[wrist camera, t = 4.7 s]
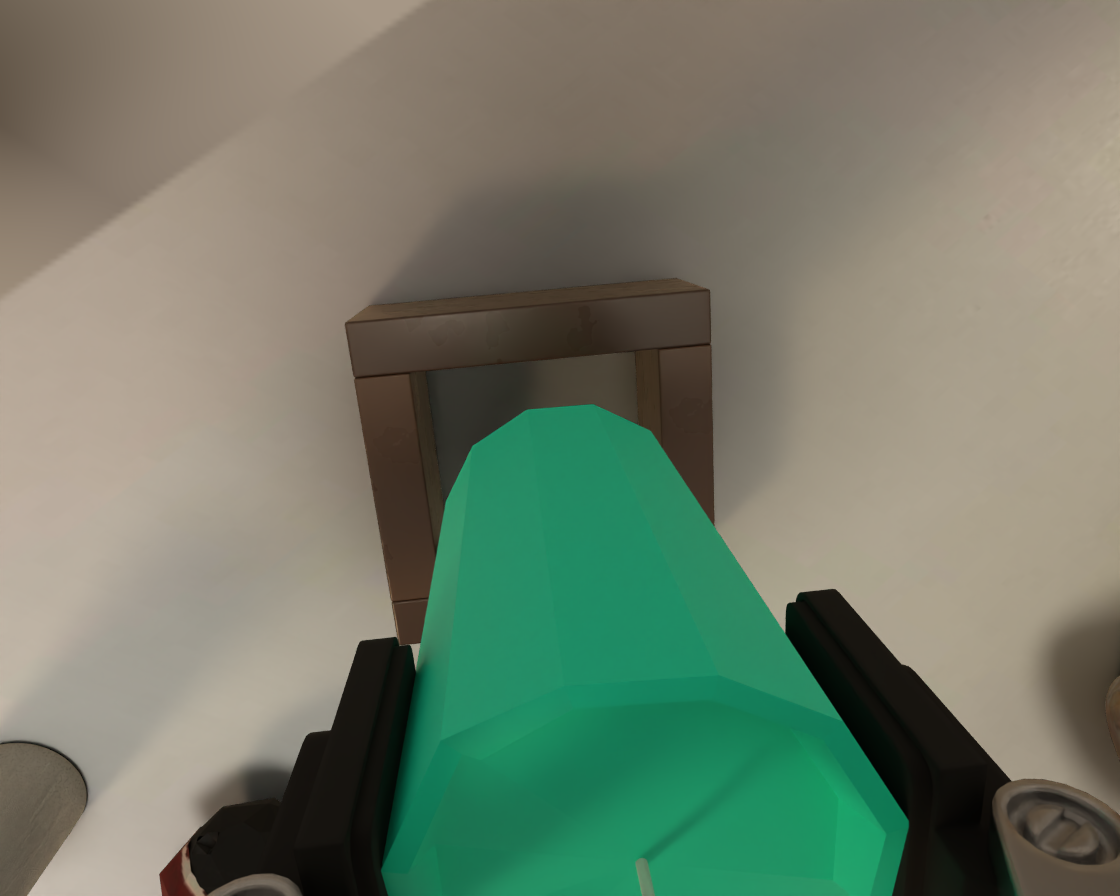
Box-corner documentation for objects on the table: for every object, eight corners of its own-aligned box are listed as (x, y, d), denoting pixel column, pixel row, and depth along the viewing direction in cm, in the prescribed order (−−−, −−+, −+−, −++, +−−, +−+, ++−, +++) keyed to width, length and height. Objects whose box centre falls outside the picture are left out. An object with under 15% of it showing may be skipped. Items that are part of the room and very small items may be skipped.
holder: (367, 305, 24) (343, 322, 21) (678, 277, 25) (711, 288, 21) (411, 587, 28) (398, 646, 24) (686, 556, 28) (716, 609, 24)
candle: (649, 366, 17) (940, 686, 6) (714, 583, 19) (1028, 1139, 8) (405, 451, 17) (231, 921, 6) (495, 657, 19) (490, 1305, 8)
